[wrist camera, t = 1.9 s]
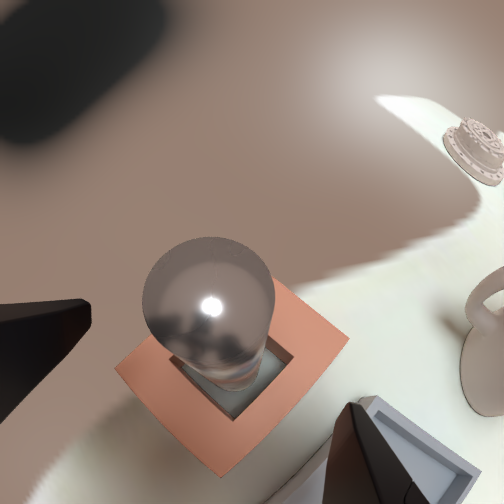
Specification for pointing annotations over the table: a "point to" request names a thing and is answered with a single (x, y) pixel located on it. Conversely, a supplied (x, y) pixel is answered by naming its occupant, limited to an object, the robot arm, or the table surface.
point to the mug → (484, 350)
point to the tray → (409, 453)
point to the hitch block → (260, 410)
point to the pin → (212, 308)
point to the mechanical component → (476, 151)
